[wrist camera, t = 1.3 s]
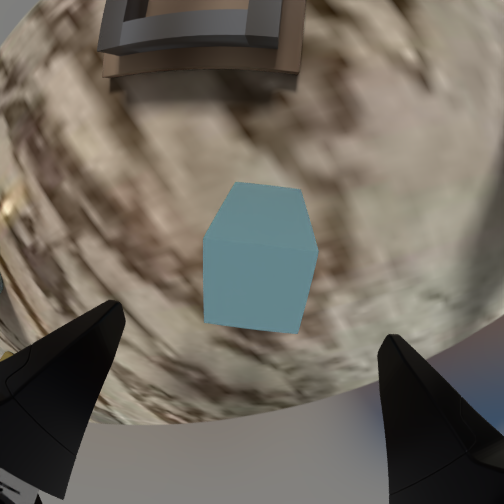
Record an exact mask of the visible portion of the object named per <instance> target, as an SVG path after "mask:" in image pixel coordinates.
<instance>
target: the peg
mask: <svg viewBox="0 0 504 504" xmlns="http://www.w3.org/2000/svg"><path fill="white" fill-rule="evenodd" d="M318 252H319V251H318V247H317V244H316V240H315V236H314V233H313V229H312V226H311V222H310V219H309V215H308V212H307V209H306V205H305V202H304V199H303V195H302V192H301V189H294V188H286V187H278V186H270V185H261V184H252V183H242V182H235V184H234V185H233V187H232V189H231V190H230V192H229V194H228V195H227V197H226V199H225V201H224V202H223V204H222V206H221V207H220V209H219V211H218V213H217V214H216V216H215V218H214V220H213V222H212V223H211V225H210V227H209V229H208V230H207V232H206V234H205V236H204V238H203V293H204V323H210V324H217V325H224V326H231V327H239V328H246V329H255V330H263V331H272V332H282V333H293V334H298V331H299V327H300V324H301V320H302V316H303V313H304V309H305V305H306V301H307V297H308V294H309V290H310V286H311V282H312V278H313V274H314V269H315V265H316V261H317V257H318Z"/></svg>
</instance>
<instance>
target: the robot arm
mask: <svg viewBox="0 0 504 504" xmlns="http://www.w3.org/2000/svg"><path fill="white" fill-rule="evenodd" d="M125 323H126V320H125V316H124V312H123V308H122V304H121V303H120V302H119V301H115V300H108V301H106V302H104V303H102V304H101V305H99V306H97V307H95V308H93V309H92V310H90V311H88V312H86V313H85V314H83V315H81V316H79V317H77V318H76V319H74V320H72V321H70V322H69V323H67V324H65V325H64V326H62V327H60V328H58V329H57V330H55V331H53V332H51V333H50V334H48V335H46V336H45V337H43V338H41V339H40V340H38V341H36V342H34V343H33V344H32V345H29V346H28V347H26V348H24V349H23V350H21V351H19V352H17V353H16V354H14V355H12V356H10V357H8V358H6V359H4V360H2V361H0V504H42V502H41V499H40V497H39V495H38V491H39V490H42V491H44V492H46V493H48V494H50V495H52V496H55V497H57V498H60V499H62V500H63V499H64V496H65V493H66V489H67V486H68V482H69V479H70V475H71V472H72V468H73V466H74V462H75V459H76V455H77V453H78V449H79V447H80V444H81V441H82V438H83V435H84V432H85V429H86V427H87V424H88V421H89V419H90V416H91V414H92V411H93V408H94V406H95V403H96V401H97V398H98V396H99V393H100V391H101V389H102V386H103V384H104V381H105V379H106V377H107V374H108V372H109V370H110V368H111V365H112V363H113V360H114V357H115V354H116V351H117V348H118V345H119V342H120V339H121V336H122V333H123V330H124V327H125ZM377 358H378V371H379V389H380V399H381V405H382V413H383V421H384V429H385V438H386V449H387V461H388V477H389V504H504V436H503V435H502V434H501V433H500V432H499V431H497V430H496V429H495V428H494V427H493V426H492V425H491V424H489V423H488V422H487V421H486V420H485V419H484V418H483V417H482V416H481V415H480V414H479V413H478V412H476V411H475V410H474V409H473V408H472V407H471V406H470V405H469V404H468V402H467V401H466V400H465V399H464V398H463V397H461V395H460V394H459V393H458V392H457V391H456V390H455V389H454V388H453V387H452V386H451V385H450V384H449V383H448V382H447V381H446V380H445V379H444V378H443V377H442V376H441V375H440V374H439V373H438V372H437V371H436V370H435V369H434V368H433V367H432V366H431V365H430V364H429V363H428V362H427V361H426V360H425V359H424V358H423V357H422V356H421V355H420V354H419V353H418V352H417V351H416V350H415V349H414V348H412V347H411V346H410V345H409V344H408V343H407V342H406V341H405V340H404V339H403V338H402V337H401V336H400V335H398V334H388V335H387V336H386V338H385V339H384V341H383V343H382V345H381V347H380V348H379V351H378V355H377Z"/></svg>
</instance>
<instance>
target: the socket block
mask: <svg viewBox="0 0 504 504" xmlns="http://www.w3.org/2000/svg"><path fill="white" fill-rule="evenodd" d="M305 2H306V0H106V4H105V9H104V13H103V18H102V23H101V29H100V35H99V41H98V48H97V51H98V52H103V53H104V61H103V71H102V77H105V78H113V77H119V76H125V75H132V74H139V73H148V72H157V71H169V70H186V69H240V70H256V71H268V72H278V73H287V74H294V75H298V74H299V70H300V60H301V49H302V38H303V27H304V15H305Z"/></svg>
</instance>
